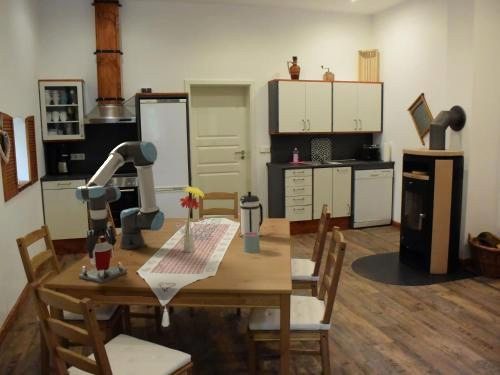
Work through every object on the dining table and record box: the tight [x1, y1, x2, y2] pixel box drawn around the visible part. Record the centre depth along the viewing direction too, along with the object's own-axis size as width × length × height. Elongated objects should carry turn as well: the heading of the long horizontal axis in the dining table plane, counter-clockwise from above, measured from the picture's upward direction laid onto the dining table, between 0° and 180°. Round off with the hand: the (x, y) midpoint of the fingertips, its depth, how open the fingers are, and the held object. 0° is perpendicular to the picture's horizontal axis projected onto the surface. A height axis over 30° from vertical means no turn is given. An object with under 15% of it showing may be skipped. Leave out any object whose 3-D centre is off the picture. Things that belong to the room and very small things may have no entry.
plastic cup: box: [93, 242, 114, 271], centre depth 210 cm, size 11×11×12 cm
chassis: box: [78, 261, 128, 284], centre depth 211 cm, size 16×16×6 cm
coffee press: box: [238, 191, 264, 238], centre depth 277 cm, size 17×16×30 cm
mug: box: [242, 232, 261, 254], centre depth 248 cm, size 14×9×10 cm
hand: (102, 260), depth 210 cm, fingers closed on plastic cup, 11 cm apart
